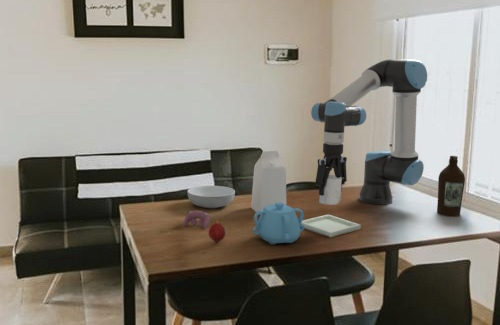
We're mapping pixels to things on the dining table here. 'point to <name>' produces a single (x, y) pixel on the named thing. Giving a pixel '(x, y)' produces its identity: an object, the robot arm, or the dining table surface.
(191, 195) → the serving bowl
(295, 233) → the decorative pot
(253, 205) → the milk
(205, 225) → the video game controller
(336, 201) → the white cup
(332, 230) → the tray
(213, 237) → the onion
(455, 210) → the olive oil
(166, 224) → the dining table surface
